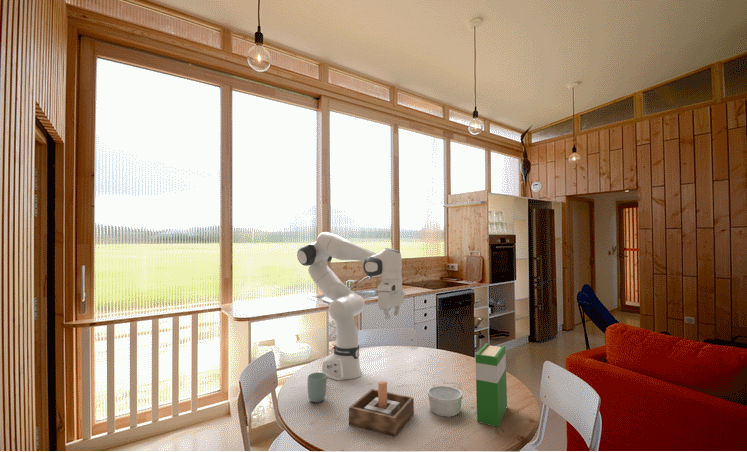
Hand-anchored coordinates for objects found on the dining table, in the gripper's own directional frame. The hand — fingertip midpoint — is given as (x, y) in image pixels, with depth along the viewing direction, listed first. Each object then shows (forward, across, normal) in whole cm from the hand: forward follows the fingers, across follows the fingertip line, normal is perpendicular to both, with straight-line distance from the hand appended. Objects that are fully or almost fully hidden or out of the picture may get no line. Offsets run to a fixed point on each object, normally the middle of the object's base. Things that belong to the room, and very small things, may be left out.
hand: (392, 317), depth 149 cm
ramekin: (+33, +4, +24) cm, 41 cm away
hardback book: (+33, -1, +41) cm, 53 cm away
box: (+33, +21, +5) cm, 39 cm away
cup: (+33, +19, -26) cm, 46 cm away
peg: (+32, +21, +5) cm, 38 cm away
